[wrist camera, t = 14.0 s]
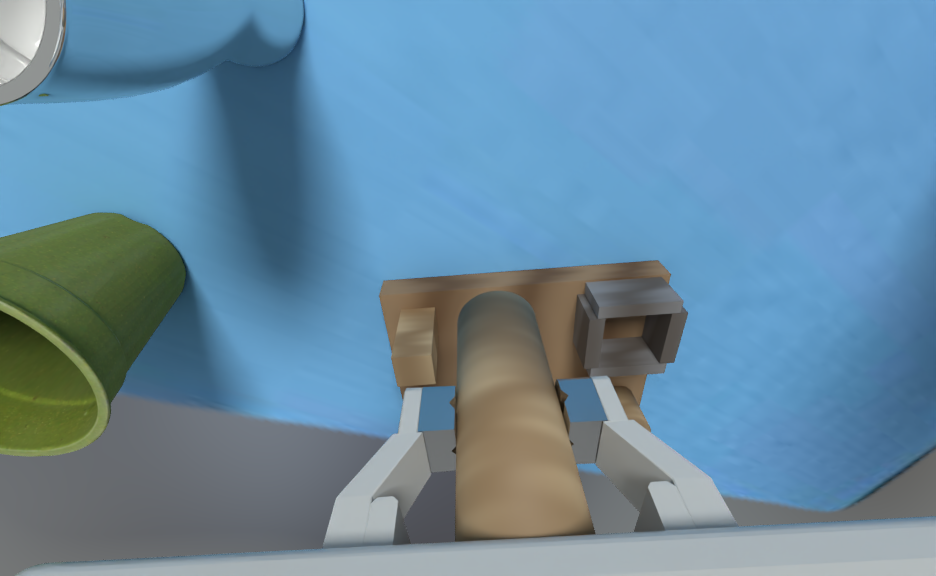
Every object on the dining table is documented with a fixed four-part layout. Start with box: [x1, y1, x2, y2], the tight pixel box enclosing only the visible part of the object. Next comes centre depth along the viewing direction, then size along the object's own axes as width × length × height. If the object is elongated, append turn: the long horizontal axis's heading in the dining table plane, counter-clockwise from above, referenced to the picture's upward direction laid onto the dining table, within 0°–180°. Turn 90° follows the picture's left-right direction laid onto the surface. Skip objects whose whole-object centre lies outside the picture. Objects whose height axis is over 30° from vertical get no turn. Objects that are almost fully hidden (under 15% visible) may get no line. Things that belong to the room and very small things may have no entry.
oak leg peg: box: [455, 291, 595, 542], centre depth 11 cm, size 3×3×9 cm
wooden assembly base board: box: [379, 260, 688, 406], centre depth 29 cm, size 20×14×7 cm
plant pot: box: [0, 213, 186, 456], centre depth 22 cm, size 12×12×11 cm
